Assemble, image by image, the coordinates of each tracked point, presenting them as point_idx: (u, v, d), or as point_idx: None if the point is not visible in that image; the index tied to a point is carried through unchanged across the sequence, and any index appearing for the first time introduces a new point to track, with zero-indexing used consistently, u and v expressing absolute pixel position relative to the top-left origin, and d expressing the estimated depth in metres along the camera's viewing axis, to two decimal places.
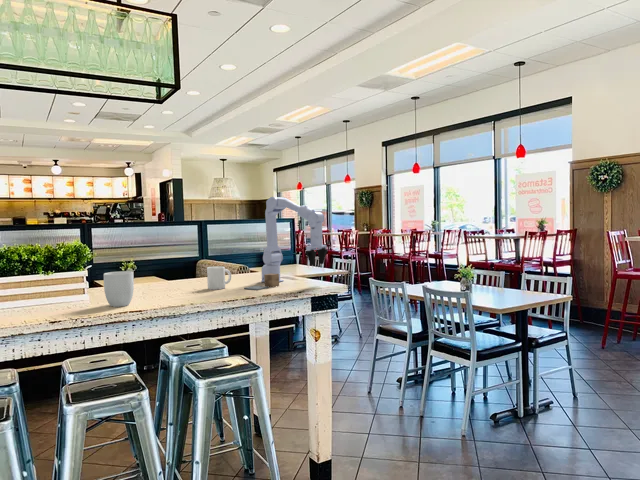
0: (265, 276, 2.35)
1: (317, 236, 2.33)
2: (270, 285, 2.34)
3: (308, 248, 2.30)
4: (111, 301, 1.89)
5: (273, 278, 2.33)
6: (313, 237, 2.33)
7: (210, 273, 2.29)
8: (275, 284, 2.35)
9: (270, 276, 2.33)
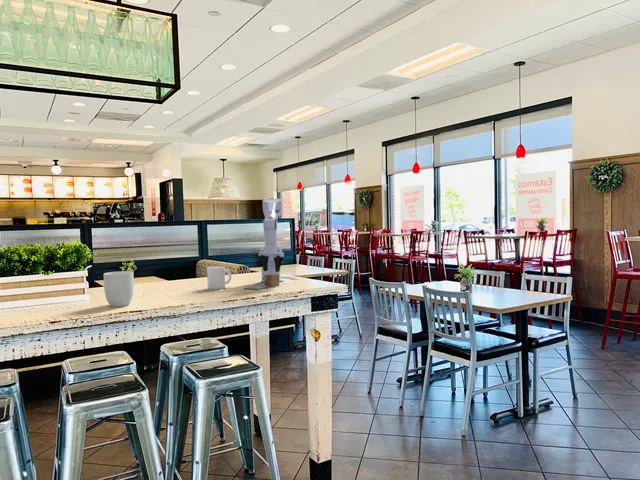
0: (265, 276, 2.35)
1: (266, 243, 2.33)
2: (270, 285, 2.34)
3: None
4: (111, 301, 1.89)
5: (273, 278, 2.33)
6: None
7: (210, 273, 2.29)
8: (275, 284, 2.35)
9: (270, 276, 2.33)
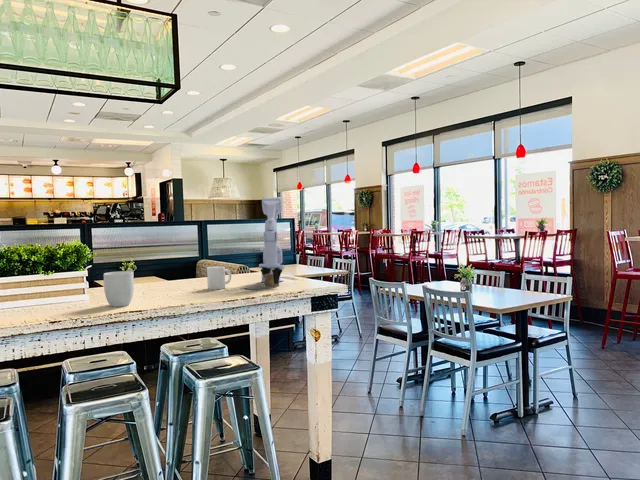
0: (265, 276, 2.35)
1: (266, 255, 2.33)
2: (270, 285, 2.34)
3: None
4: (111, 301, 1.89)
5: (273, 278, 2.33)
6: None
7: (210, 273, 2.29)
8: (275, 284, 2.35)
9: (270, 276, 2.33)
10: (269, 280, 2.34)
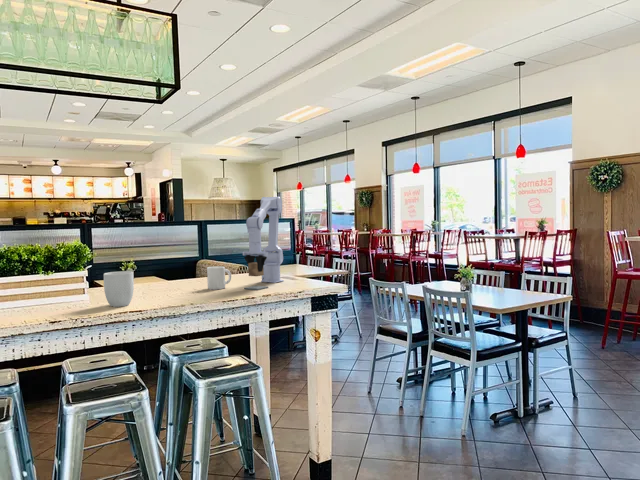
0: (249, 265, 2.29)
1: (249, 242, 2.28)
2: (254, 274, 2.27)
3: None
4: (111, 301, 1.89)
5: (257, 267, 2.27)
6: None
7: (210, 273, 2.29)
8: (259, 273, 2.28)
9: (254, 265, 2.27)
10: (253, 269, 2.27)
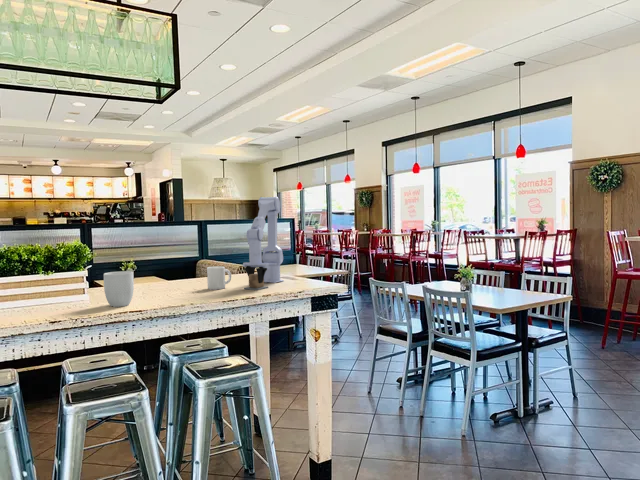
0: (249, 276, 2.29)
1: (249, 253, 2.28)
2: (254, 285, 2.27)
3: None
4: (111, 301, 1.89)
5: (257, 278, 2.27)
6: None
7: (210, 273, 2.29)
8: (260, 284, 2.29)
9: (254, 276, 2.27)
10: (253, 280, 2.28)
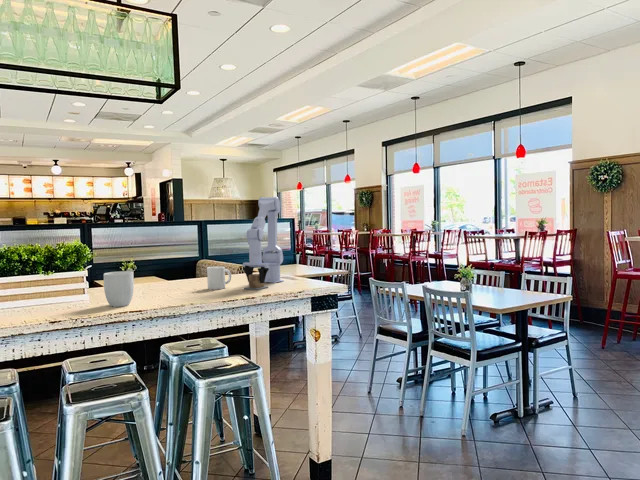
0: (249, 276, 2.29)
1: (249, 253, 2.28)
2: (254, 286, 2.27)
3: None
4: (111, 301, 1.89)
5: (257, 278, 2.27)
6: None
7: (210, 273, 2.29)
8: (260, 285, 2.29)
9: (254, 276, 2.27)
10: (253, 281, 2.28)
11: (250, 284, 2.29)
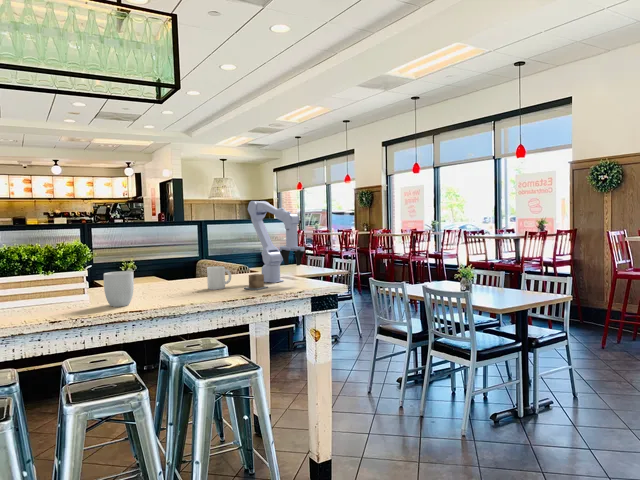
0: (249, 276, 2.29)
1: (291, 237, 2.39)
2: (254, 286, 2.27)
3: None
4: (111, 301, 1.89)
5: (257, 278, 2.27)
6: None
7: (210, 273, 2.29)
8: (260, 285, 2.29)
9: (254, 276, 2.27)
10: (253, 281, 2.28)
11: (250, 284, 2.29)
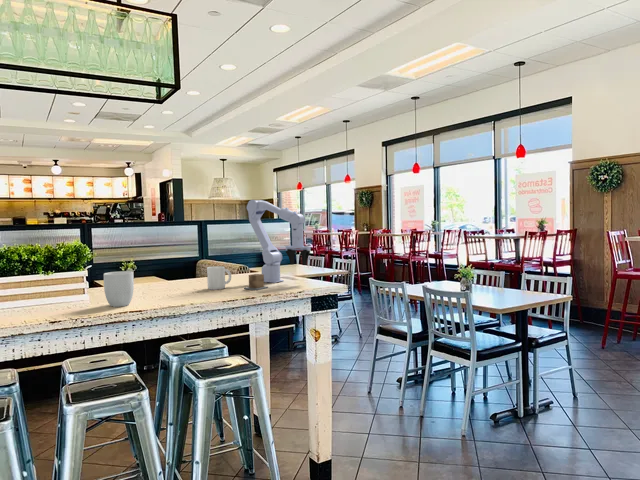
0: (249, 276, 2.29)
1: (299, 237, 2.42)
2: (254, 286, 2.27)
3: None
4: (111, 301, 1.89)
5: (257, 278, 2.27)
6: None
7: (210, 273, 2.29)
8: (260, 285, 2.29)
9: (254, 276, 2.27)
10: (253, 281, 2.28)
11: (250, 284, 2.29)
